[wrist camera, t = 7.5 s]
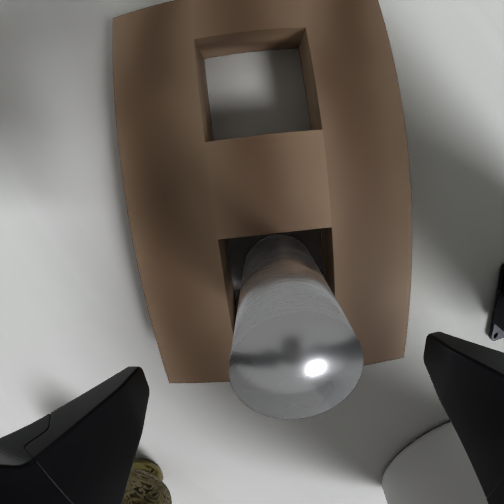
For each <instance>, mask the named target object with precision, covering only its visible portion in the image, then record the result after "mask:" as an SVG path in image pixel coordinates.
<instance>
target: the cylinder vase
mask: <svg viewBox="0 0 504 504" xmlns="http://www.w3.org/2000/svg"><path fill="white" fill-rule="evenodd" d="M382 487H383V490H384V494H385V497H386V500H387V503H388V504H488V502H487V500H486V497H485V494H484V492H483V489H482V487H481V485H480V482H479V480H478V478H477V475H476V473H475V471H474V469H473V466H472V464H471V462H470V460H469V458H468V456H467V453H466V451H465V449H464V447H463V445H462V443H461V441H460V439H459V437H458V435H457V433H456V431H455V429H454V427H453V425H452V423H451V422H449V423H446V424H444V425H441V426H439V427H437V428H435V429H433V430H431V431H430V432H428V433H426V434H424V435H423V436H421V437H420V438H418V439H417V440H415V441H414V442H413V443H411V444H410V445H409V446H407V447H406V448H405V449H404V450H403V451H401V452H400V453H399V454H398V455H397V456H396V457H395V458H394V459H393V461H392V462H391V463H390V464H389V466H388V467H387V469H386V470H385V472H384V475H383V478H382Z"/></svg>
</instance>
